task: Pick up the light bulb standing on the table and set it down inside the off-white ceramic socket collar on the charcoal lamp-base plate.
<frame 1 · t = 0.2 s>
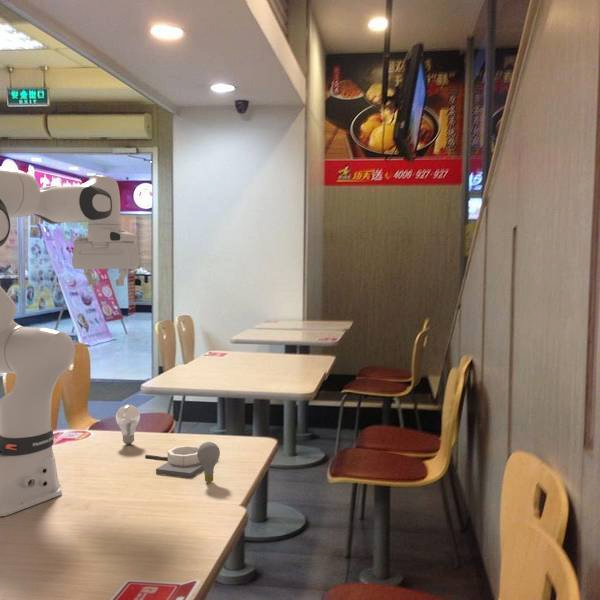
hand: (105, 285, 173), 48 cm above the table, fingers open, 8 cm apart
lamp base: (188, 466, 164), on the table
light bulb 2: (128, 445, 185), on the table
light bulb: (209, 483, 152), on the table
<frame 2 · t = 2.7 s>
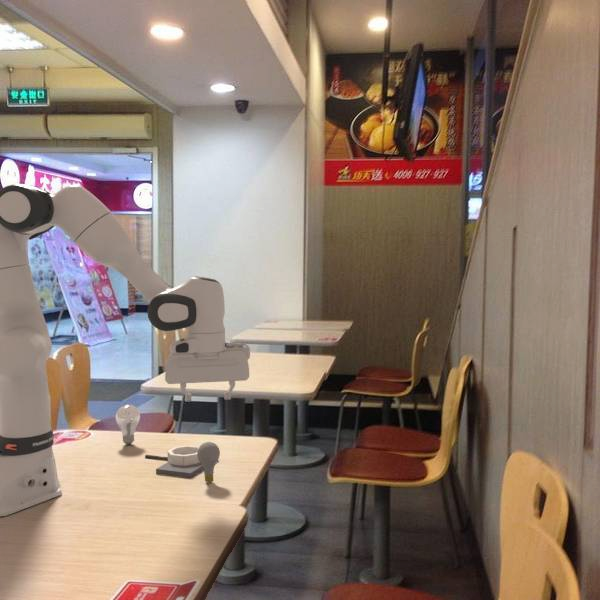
hand: (208, 400, 151), 20 cm above the table, fingers open, 8 cm apart
nothing on the table moved.
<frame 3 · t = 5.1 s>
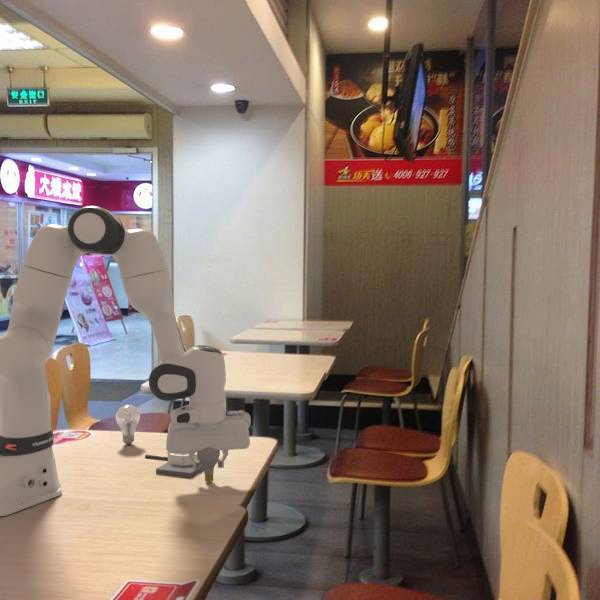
hand: (208, 468, 152), 4 cm above the table, fingers closed on light bulb, 4 cm apart
light bulb: (209, 483, 152), on the table, touching gripper
everything else where it was.
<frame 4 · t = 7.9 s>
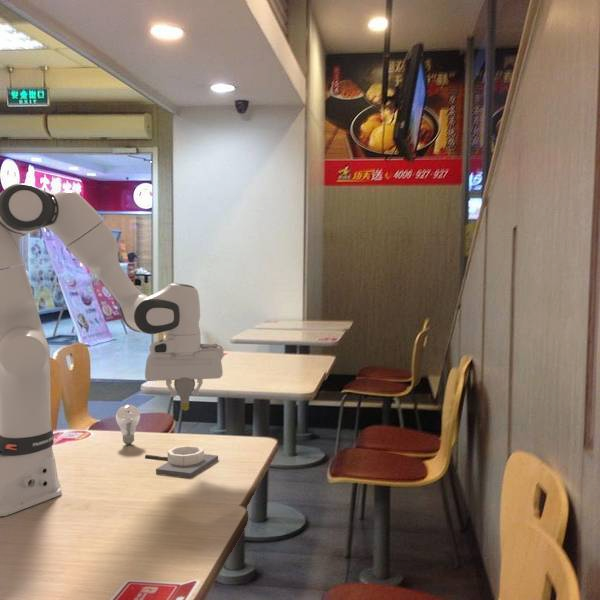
hand: (184, 396, 165), 18 cm above the table, fingers closed on light bulb, 4 cm apart
light bulb: (185, 411, 166), point 14 cm above the table, touching gripper
everything else where it was.
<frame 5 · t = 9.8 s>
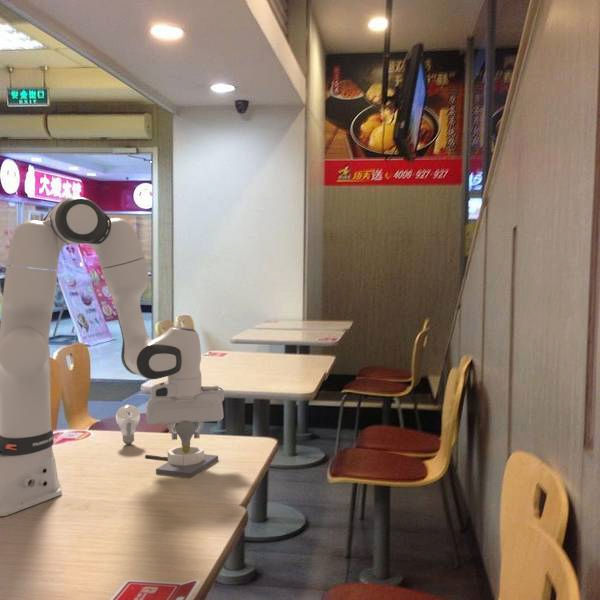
hand: (185, 438, 166), 7 cm above the table, fingers closed on light bulb, 4 cm apart
light bulb: (186, 453, 166), point 3 cm above the table, touching gripper
everything else where it was.
when the fingers open (6 cm above the table, at t = 10.9 s): light bulb drops 1 cm, resting on lamp base.
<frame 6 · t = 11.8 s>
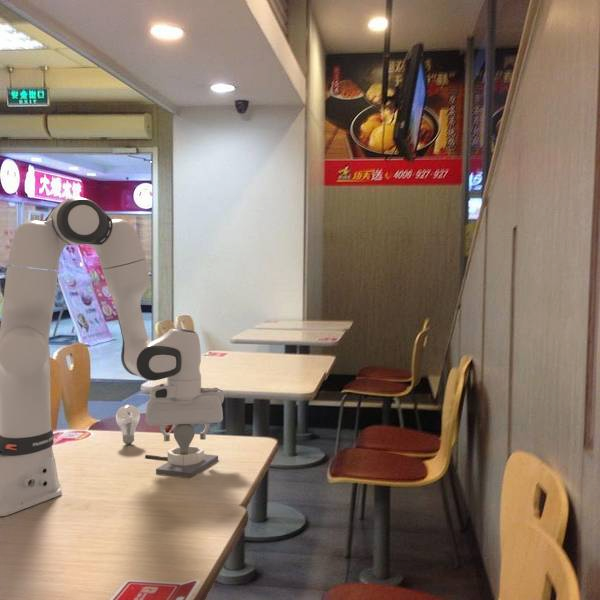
hand: (184, 440, 166), 7 cm above the table, fingers open, 8 cm apart
light bulb: (184, 460, 166), point 1 cm above the table, touching lamp base
everything else where it was.
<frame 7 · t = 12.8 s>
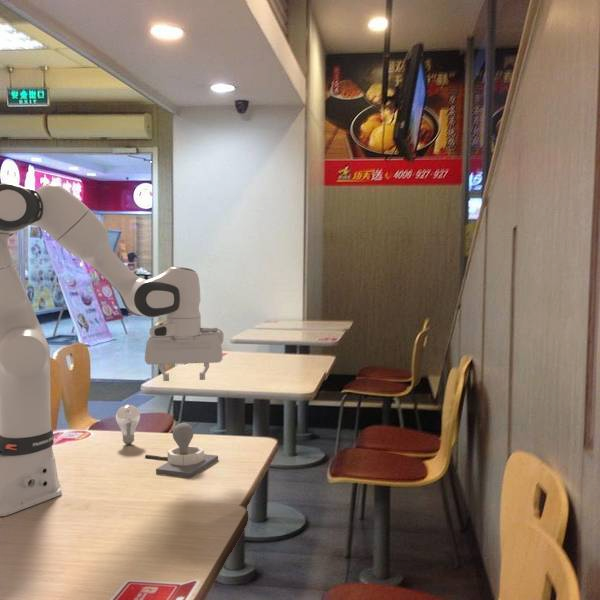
hand: (184, 380, 165), 23 cm above the table, fingers open, 8 cm apart
nothing on the table moved.
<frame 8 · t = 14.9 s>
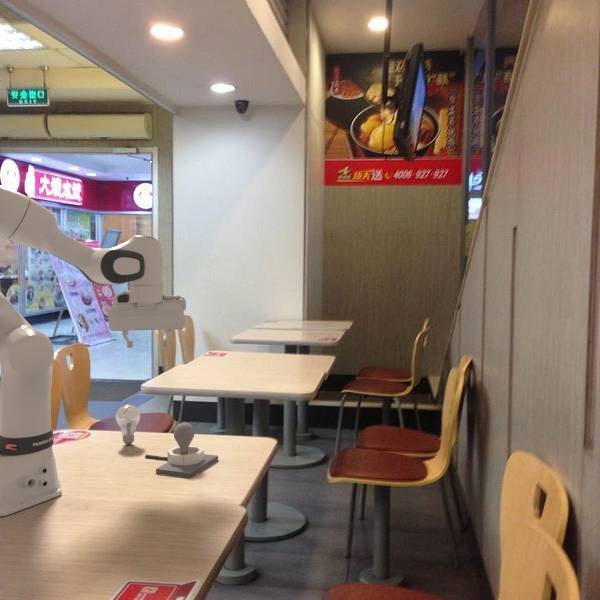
hand: (147, 346, 169), 31 cm above the table, fingers open, 8 cm apart
nothing on the table moved.
at the end: light bulb 0.5 cm from the target spot on the lamp base, point 1.0 cm above the lamp base's base; light bulb touching lamp base; the gripper is holding nothing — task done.
